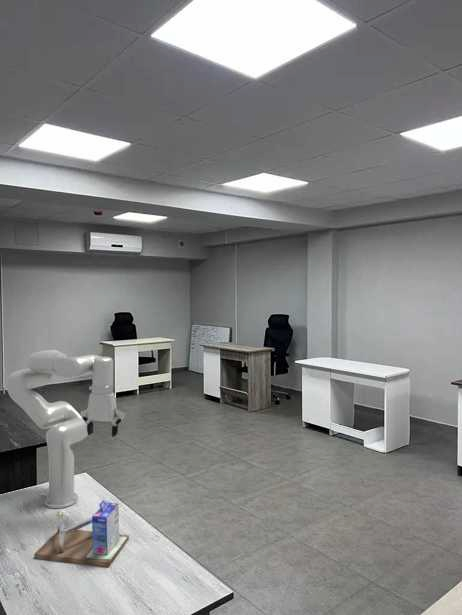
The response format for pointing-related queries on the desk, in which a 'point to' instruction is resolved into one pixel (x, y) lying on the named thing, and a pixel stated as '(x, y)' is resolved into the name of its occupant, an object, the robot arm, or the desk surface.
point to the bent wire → (67, 530)
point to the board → (79, 549)
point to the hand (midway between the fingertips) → (102, 434)
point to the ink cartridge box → (105, 528)
